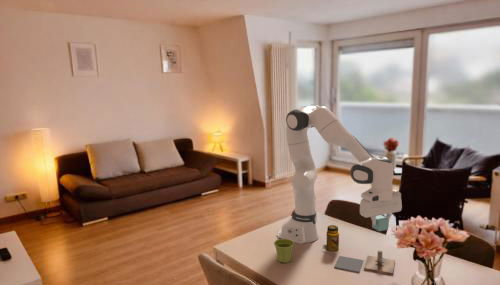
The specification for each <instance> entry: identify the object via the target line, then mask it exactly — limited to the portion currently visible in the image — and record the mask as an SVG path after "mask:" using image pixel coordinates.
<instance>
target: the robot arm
mask: <svg viewBox="0 0 500 285" xmlns="http://www.w3.org/2000/svg"><path fill="white" fill-rule="evenodd" d="M285 123H286V128H285V129H286V131H285V132H286V133H285V134H286V143H287V147H288V152H289V157H290V160H291V162H292V164H293V166H294V167H293V168H294V170H295V173H293V175H292V179H291V185H292V190H293V196H294V209H293V210H292V212H291V213H290V218H288V219H287V220H285V221H284V222H283V223H282V225H281V228H280V229H279V230H278V232H277V234H276V235H277V238H278V239H289V240H292V241H293V242H294V243H296V244H299V245H301V244H306V243H311V242H315V241H317V240H318V239H319V237H320V236H319V232H318V229H317V228H318V227H317V217H318V216H317V215H318V214H317V211H316V207H317V206H316V203H317V202H316V201H317V200H316V194H315V182H316V180H317V178H318V170H317V169H316V166H315V162H314V159H313V156H312V153H311V146H310V140H309V138H308V130H309V129H310V128H314V129H316V130H317V132H318V133H319V135H320V137H321V138H322V139H323V140H324V141H325V143H326V144H329V145H330V146H335V147H336V146H337V147H341V148H344V149H346V150H348V151H349V152H350V154H351V155H352V156H353V157H354V158H355V159H356V160H357V161H358V162H357V163H355V164H354V165H352V166H351V167H350V172H349V173H350V178H351V179H352V180H353V182H355V183H357V184H358V185H370V187H371V188H369V189H367V190H365V191H363V192H362V193H361V195H360V197H361V200H360V204H359V215H361V216H362V217H364V218H370V219H371V225H372V224H373V225H377V224H378V221H377V220H375V218H376V216H379V215H382V216H384V215H385V217H386V218H388V223H389V222H390V219H391V216H392V214H393V213H398V212H401V211H402V209H403V205H402V204H403V203H402V193H401V192H400V191H398V190H394V186H393V180H394V164H393V161H392V160H391V159H390V157H389V158H388V157H386V156H381V155H377V156H373V155H372V154H371V153H370V152H369V151H368V149H366V148H365V147H364V145H363V144H362V143H361V142H360V141H359V140H358V139H357V138H356V137H355V136H354V135H353V134H352V133H351V132H350V131H349V130H348V129H347V128H346V127H345V126H344V125H343V123H342V122H341V121H340V120H339V118H338V117H337V116H336V115H335V114H334V113H333V112H332V111H331V110H330V109H329V108H328V107H326V106H320V105H317V104H311V105H305V106H301V107H298V108H296V109H293V110H291V111H289V112H287V115H286V117H285Z"/></svg>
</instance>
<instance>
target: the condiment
mask: <svg viewBox="0 0 500 285" xmlns="http://www.w3.org/2000/svg"><path fill="white" fill-rule="evenodd" d="M326 230H327V231H326V244H322V249H321V252H326V253H332V254H333V253H334V254H339V253H340V251H341V250H340V248H341V246H340V232H339V227H338V226H337V225H334V224H331V225H328V226H327V229H326Z"/></svg>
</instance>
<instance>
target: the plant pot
mask: <svg viewBox="0 0 500 285" xmlns="http://www.w3.org/2000/svg"><path fill="white" fill-rule="evenodd" d="M294 244H295V242H293V241H292V240H289V239H281V238H278V239H277V240H275V241H274V242H273V245H274V247H275V250H276V256H277V260H278V262H279V263H283V264H284V263H290V262H291V260H292V252H293V248H294Z"/></svg>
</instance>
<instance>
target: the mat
mask: <svg viewBox="0 0 500 285" xmlns="http://www.w3.org/2000/svg"><path fill="white" fill-rule="evenodd" d="M363 262H364V259H361V258H360V259H358V258H353V257H347V256H342V255H338V257H337V260H336V262H335V264H334V266H333V268H334V269H338V270H343V271H347V272H352V273H358V274H360V272H361V269H362V265H363Z"/></svg>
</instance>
